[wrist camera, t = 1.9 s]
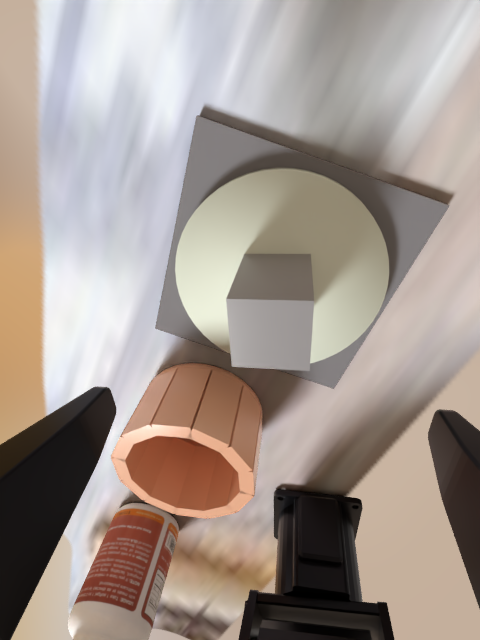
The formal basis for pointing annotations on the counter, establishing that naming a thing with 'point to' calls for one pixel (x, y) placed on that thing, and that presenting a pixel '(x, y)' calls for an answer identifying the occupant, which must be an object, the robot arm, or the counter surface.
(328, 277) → the lid
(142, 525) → the pill bottle
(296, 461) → the counter surface
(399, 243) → the mat
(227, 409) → the bowl
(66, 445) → the robot arm
